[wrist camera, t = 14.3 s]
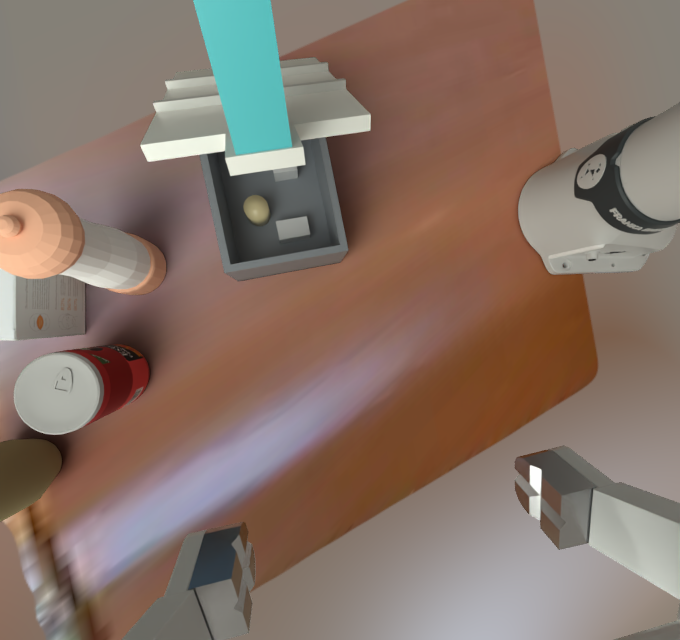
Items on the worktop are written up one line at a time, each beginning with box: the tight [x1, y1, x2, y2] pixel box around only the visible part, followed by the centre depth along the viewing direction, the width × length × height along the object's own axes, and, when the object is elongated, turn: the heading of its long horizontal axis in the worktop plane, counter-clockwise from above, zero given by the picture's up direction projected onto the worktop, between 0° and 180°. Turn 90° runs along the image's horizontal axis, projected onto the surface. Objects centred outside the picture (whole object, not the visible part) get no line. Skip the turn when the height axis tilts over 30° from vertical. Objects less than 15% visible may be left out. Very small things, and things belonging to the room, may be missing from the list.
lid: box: [140, 0, 371, 176], centre depth 24 cm, size 15×25×9 cm
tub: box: [200, 137, 348, 281], centre depth 40 cm, size 14×20×8 cm
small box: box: [0, 268, 85, 341], centre depth 36 cm, size 8×6×10 cm
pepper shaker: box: [0, 189, 166, 295], centre depth 33 cm, size 7×7×19 cm
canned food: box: [14, 344, 149, 435], centre depth 36 cm, size 8×8×11 cm
